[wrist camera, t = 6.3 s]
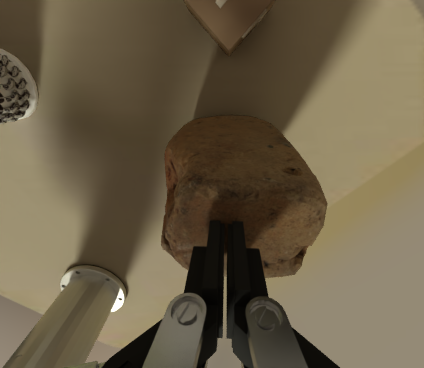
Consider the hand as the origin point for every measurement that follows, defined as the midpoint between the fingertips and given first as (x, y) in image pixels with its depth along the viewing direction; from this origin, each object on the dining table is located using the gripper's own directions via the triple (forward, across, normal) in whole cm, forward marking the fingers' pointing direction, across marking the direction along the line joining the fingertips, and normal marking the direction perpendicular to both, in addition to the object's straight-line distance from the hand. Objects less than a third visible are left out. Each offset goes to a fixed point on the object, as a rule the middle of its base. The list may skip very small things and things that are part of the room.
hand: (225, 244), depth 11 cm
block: (+20, 0, 0) cm, 20 cm away
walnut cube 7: (+20, 0, -14) cm, 25 cm away
